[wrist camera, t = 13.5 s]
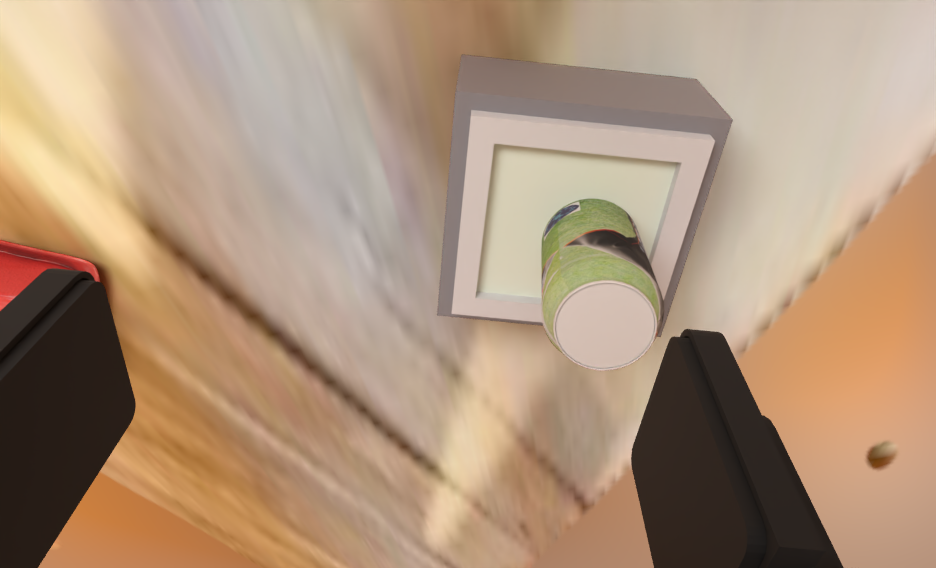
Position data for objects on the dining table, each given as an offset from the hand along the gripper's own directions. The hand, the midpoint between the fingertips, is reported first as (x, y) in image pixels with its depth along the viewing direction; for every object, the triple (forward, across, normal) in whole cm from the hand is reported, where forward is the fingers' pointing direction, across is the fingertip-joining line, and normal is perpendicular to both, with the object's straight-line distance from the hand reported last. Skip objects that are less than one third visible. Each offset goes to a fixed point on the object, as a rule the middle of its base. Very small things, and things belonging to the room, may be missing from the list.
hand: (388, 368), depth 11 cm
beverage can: (+28, -9, +12) cm, 32 cm away
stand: (+36, -8, +12) cm, 39 cm away
